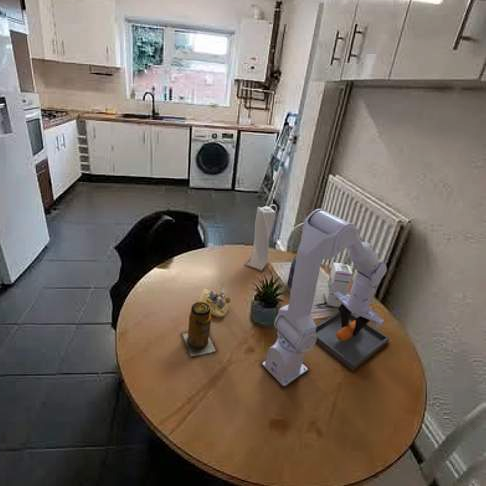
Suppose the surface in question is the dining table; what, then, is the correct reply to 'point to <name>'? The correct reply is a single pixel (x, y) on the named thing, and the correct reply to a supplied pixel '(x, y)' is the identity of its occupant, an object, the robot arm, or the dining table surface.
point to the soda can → (291, 272)
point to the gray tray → (349, 341)
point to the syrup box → (338, 282)
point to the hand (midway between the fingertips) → (349, 330)
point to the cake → (216, 301)
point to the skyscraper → (262, 237)
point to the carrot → (346, 331)
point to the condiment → (199, 330)
